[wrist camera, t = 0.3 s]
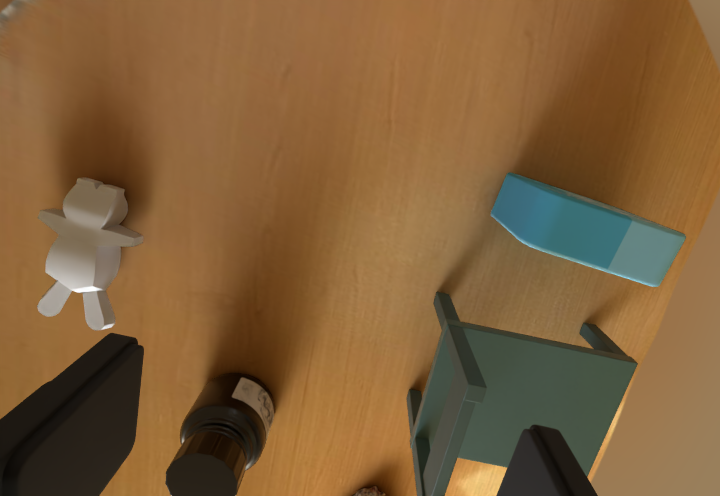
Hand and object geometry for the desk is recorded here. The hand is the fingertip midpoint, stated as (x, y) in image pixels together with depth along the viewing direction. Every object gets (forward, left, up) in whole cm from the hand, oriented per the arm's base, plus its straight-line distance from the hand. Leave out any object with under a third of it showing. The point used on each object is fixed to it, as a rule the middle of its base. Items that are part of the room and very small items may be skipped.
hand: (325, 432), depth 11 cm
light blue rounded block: (-2, +19, -36) cm, 41 cm away
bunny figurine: (+12, -26, -36) cm, 46 cm away
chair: (+16, +19, -36) cm, 44 cm away
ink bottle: (+28, -9, -36) cm, 47 cm away
